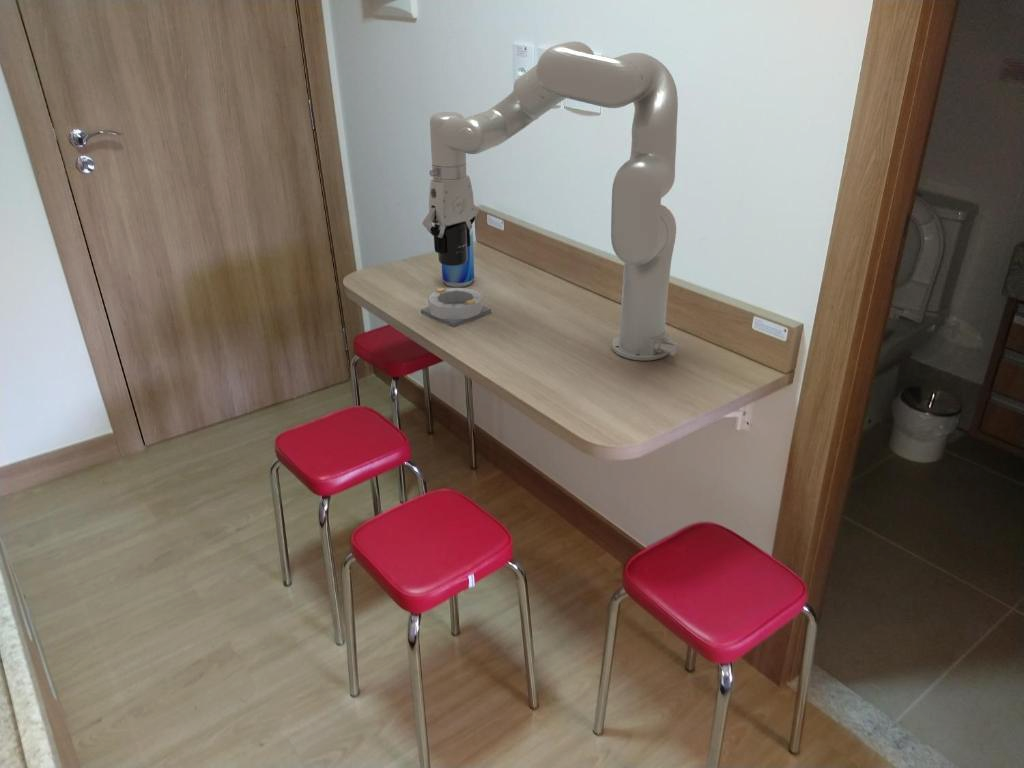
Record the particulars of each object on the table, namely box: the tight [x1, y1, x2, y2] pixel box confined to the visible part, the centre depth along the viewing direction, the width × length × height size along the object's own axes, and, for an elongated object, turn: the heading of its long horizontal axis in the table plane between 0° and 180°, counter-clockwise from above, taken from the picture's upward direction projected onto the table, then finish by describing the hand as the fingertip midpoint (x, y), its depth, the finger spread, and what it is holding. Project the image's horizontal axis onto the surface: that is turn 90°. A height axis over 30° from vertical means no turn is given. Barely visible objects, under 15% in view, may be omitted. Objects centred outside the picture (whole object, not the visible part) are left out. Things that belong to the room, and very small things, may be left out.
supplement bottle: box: [437, 222, 467, 266], centre depth 183 cm, size 7×7×12 cm
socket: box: [420, 287, 492, 328], centre depth 190 cm, size 12×12×5 cm
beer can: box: [441, 228, 475, 288], centre depth 206 cm, size 8×8×16 cm
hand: (452, 248), depth 184 cm, fingers closed on supplement bottle, 6 cm apart
